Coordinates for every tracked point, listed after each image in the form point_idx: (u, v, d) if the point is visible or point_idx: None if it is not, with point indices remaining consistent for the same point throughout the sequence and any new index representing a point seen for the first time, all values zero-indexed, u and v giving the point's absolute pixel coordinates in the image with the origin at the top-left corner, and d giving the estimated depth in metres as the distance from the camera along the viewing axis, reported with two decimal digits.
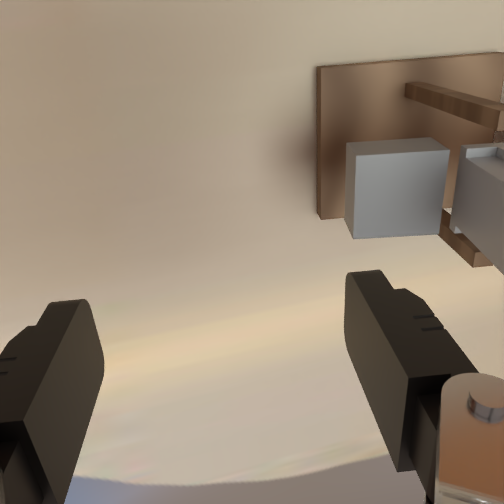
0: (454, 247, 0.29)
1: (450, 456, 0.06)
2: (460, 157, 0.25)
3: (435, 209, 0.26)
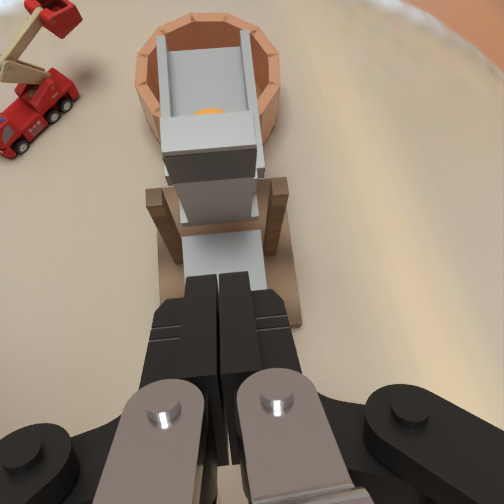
0: (282, 208, 0.31)
1: (257, 463, 0.06)
2: (191, 225, 0.29)
3: (235, 237, 0.28)
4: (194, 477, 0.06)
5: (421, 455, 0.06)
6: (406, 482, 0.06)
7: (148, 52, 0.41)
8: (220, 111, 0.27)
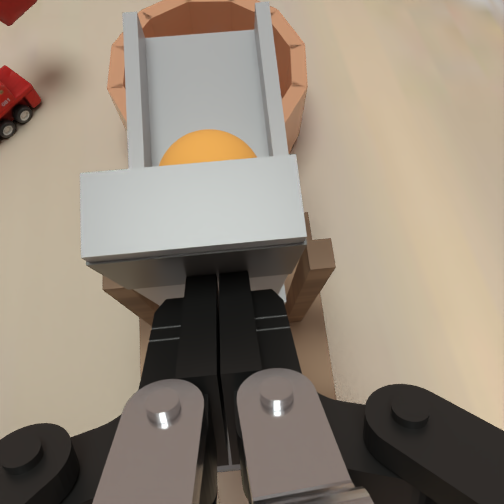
0: (321, 282, 0.20)
1: (257, 463, 0.06)
2: None
3: None
4: (194, 477, 0.06)
5: (421, 455, 0.06)
6: (406, 482, 0.06)
7: None
8: (224, 135, 0.16)
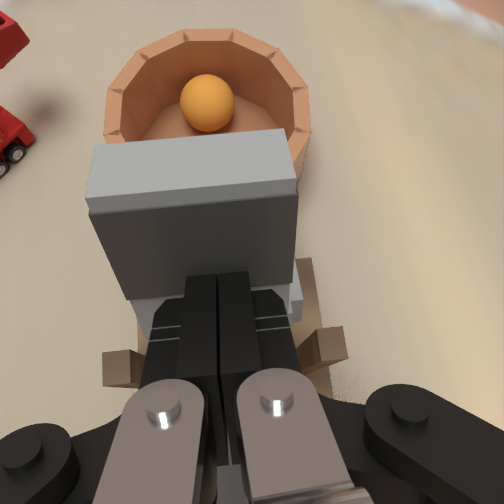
0: (331, 363, 0.19)
1: (256, 463, 0.06)
2: None
3: None
4: (194, 477, 0.06)
5: (421, 455, 0.06)
6: (406, 482, 0.06)
7: (123, 86, 0.29)
8: None
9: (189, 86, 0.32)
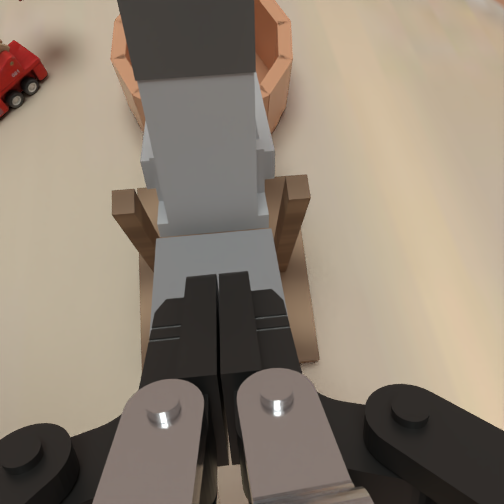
0: (300, 217, 0.23)
1: (257, 464, 0.06)
2: (173, 234, 0.20)
3: (235, 237, 0.19)
4: (194, 477, 0.06)
5: (421, 455, 0.06)
6: (406, 482, 0.06)
7: None
8: None
9: None
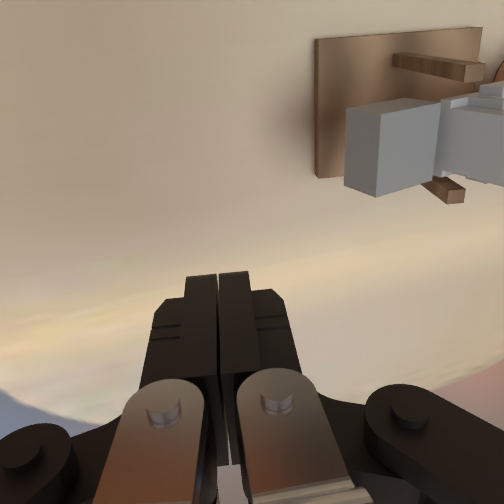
0: (432, 190, 0.33)
1: (257, 463, 0.06)
2: (440, 109, 0.29)
3: (431, 157, 0.29)
4: (194, 477, 0.06)
5: (421, 455, 0.06)
6: (406, 482, 0.06)
7: None
8: None
9: None
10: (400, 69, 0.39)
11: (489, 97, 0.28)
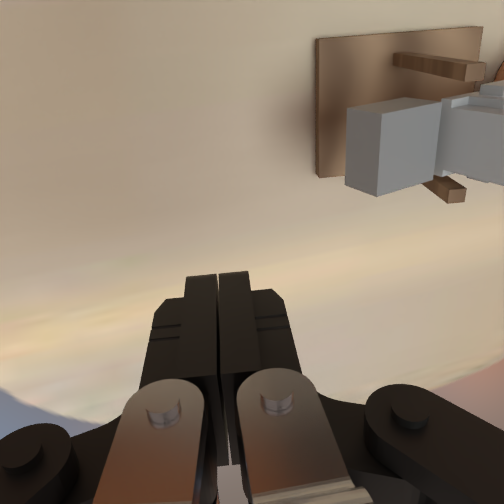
0: (433, 190, 0.33)
1: (257, 463, 0.06)
2: (441, 109, 0.29)
3: (431, 157, 0.29)
4: (194, 477, 0.06)
5: (421, 455, 0.06)
6: (406, 482, 0.06)
7: None
8: None
9: None
10: (401, 68, 0.39)
11: (490, 96, 0.28)
